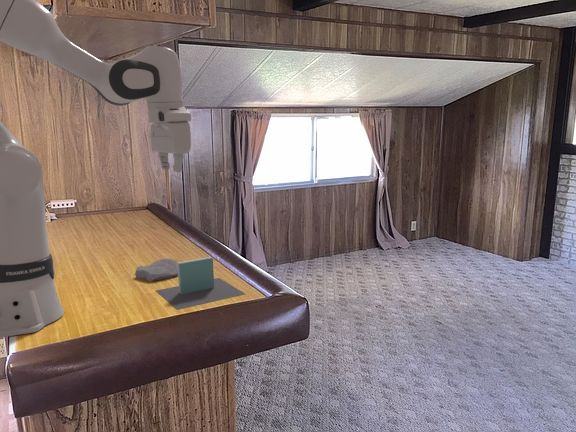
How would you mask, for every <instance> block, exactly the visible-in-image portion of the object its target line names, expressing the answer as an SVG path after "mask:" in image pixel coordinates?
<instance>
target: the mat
mask: <svg viewBox="0 0 576 432" xmlns="http://www.w3.org/2000/svg"><path fill="white" fill-rule="evenodd" d="M155 292H156V293H157V294H158V295H159V296H161V297H162V298H163V299H164V300H166V301H167V302H168V304H170V305H171V306H172V307H173V308H174V309H176V310H178V311H179V310H183V309H186V308H192V307H195V306H201V305H204V304H208V303H213V302H217V301H222V300H226V299H230V298H231V299H232V298H234V297H238V296H243V295H246V293H245V292H243V291H242V290H240V289H239V288H237V287H235V286H233V285H231V284H230V283H228V282H226V281H225V280H224V279H222V278H220V277H217V278H214V288H210V289H205V290H200V291H196V292H191V293H186V294H182V295H181V294H180V293H179V285H177V286H172V287H167V288H162V289H157V290H155Z"/></svg>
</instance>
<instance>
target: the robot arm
mask: <svg viewBox="0 0 576 432" xmlns="http://www.w3.org/2000/svg"><path fill="white" fill-rule="evenodd" d="M0 42H1V43H3V44H5V45H7V46H9V47H12V48H14V49H15V50H16V49H17V50H18V51H21V52H22V53H23V52H24V53H26V54H29V55H31V56H34V57H36V58H38V59H39V58H40V59H41V60H45V61H47V62H49V63H52V64H54V65H55V66H57V67H59V68H60V69H62V70H65V71H66V72H68V73H70V74H71V75H73V76H75V77H77V78H79V79H81V80H82V81H84V82H86V83H87V84H89V85H90V86H91V87H92V88H93V89H94V90H95V91H96V92H97V94H98V95H99V96H100V97H101V98H102V99H103V100H104V101H106V102H107V103H109V104H111V105H113V106H126V105H129V104H131V103H134V102H137V101H140V100H142V99H144V100H146V104H147V114H148V123H150V129H149V130H150V147H151V150H152V152H155V153H157V154H158V158H159V162H160V166H161V170H165V171H167V170H170V168H171V167H170V166H171V165H170V162H169V159H168V156H169V155H168V154H172V159H173V165H172V168H173V170H172V171H173V172H174V173H182V172H183V162H184V154H189V153H190V152H191V148H192V142H191V141H192V139H191V137H192V136H191V134H192V133H191V126H190V123H189V122H191V121H192V114H191V112H190V111H189V110H188V109H187V108H186V107H185V101H184V98H183V94H182V88H183V78H182V77H183V76H182V70H181V64H180V59H179V57H178V55H177V53H176V51H174V50H173V49H172V48H170V47H166V46H163V45H155V44H150V45H147V46H146V47H144V49H142V50H140V51H139V52H137V53H135V54H134V55H131V56H128V57H125V58H122V59H119V60H117V61H115V62H112V63H111V62H106V61H102V60H100V59H98V58H97V57H96V56H94V55H92V54H91V53H89V52H88V51H86V50H84V49H82V48H81V47H79V46H77V45H76V44H75V43H73V42H72V41H70V40H69V39H68V38H67V37H66V36H65V35H64V34H63V32H62V31H61V29H60V27H59V25H58V23H57V21H56V19H55V17H54V15H53V14H52V12H51V11H49V10H48V9H47V8H46V7H44V5H42V4H41V3H39V1H37V0H0ZM43 171H44V170H43V167H42V164H41V161H39V158H38V157H37V156H35V154H34V153H32V152H31V151H29V150H28V149H27V148H25V146H24V145H23V144H22V143H21V142H20V141H19V140H18V139H17V138H16V136H14V135H13V134H12V132H11V131H9V129H8V128H7V126H5V125H4V124H3V123H2V122H1V121H0V338H6V337H13V336H19V335H26V334H31V333H32V334H33V333H36V332H38V331H40V330H42V329H43V328H44V327H45V326H48V325H49V324H51V323H53V322H55V321H57V320H59V319H60V318H61V317H62V316H64V313H65V310H64V307H63V306H62V304H61V301H60V298H59V295H58V292H57V288H56V285H55V281H54V280H55V265H54V264H55V263H54V259H53V255H52V254H51V253H50V246H49V239H48V237H49V236H48V229H47V219H46V218H47V216H46V200H45V199H46V198H45V185H44V173H43Z"/></svg>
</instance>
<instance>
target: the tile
mask: <svg viewBox="0 0 576 432" xmlns="http://www.w3.org/2000/svg"><path fill="white" fill-rule="evenodd" d="M177 262H178V263H177V265H178V276H177V278H178V280H177V281H178V286H179V293H180V294H181V295H182V294H186V293H191V292H196V291H200V290H205V289H210V288H214V279H215V276H214V274H215V273H214V272H215V271H214V258H213V257H212V256H207V257H202V258H195V259H189V260H184V261H177Z"/></svg>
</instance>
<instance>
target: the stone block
mask: <svg viewBox="0 0 576 432" xmlns="http://www.w3.org/2000/svg"><path fill="white" fill-rule="evenodd" d="M178 262H179V261H177V260H175V259H173V258H165V257H164V258H161V259H158V260H157V261H154V262H152V263H151V264H148V265H144V266H143V265H139V266H137V268H136V269H135V273H134V275H135V278H137V279H142V280H146V281H148V282H155V281H160V280H166V279H169V278H174V277H178V265H177V263H178Z"/></svg>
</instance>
